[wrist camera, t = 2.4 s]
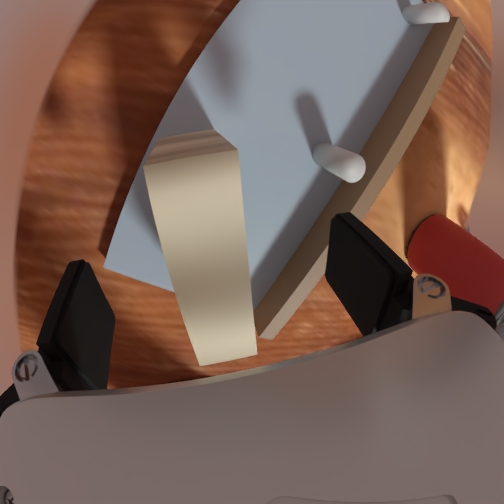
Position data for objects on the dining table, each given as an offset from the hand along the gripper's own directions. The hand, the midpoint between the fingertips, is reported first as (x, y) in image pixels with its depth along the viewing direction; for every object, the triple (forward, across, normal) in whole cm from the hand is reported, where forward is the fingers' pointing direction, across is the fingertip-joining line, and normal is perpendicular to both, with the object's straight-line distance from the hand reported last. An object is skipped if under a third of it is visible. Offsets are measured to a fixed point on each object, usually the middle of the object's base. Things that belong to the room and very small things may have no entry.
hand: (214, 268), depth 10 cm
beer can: (+8, -21, +8) cm, 24 cm away
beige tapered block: (+7, 0, +1) cm, 7 cm away
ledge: (+8, -7, -5) cm, 12 cm away
